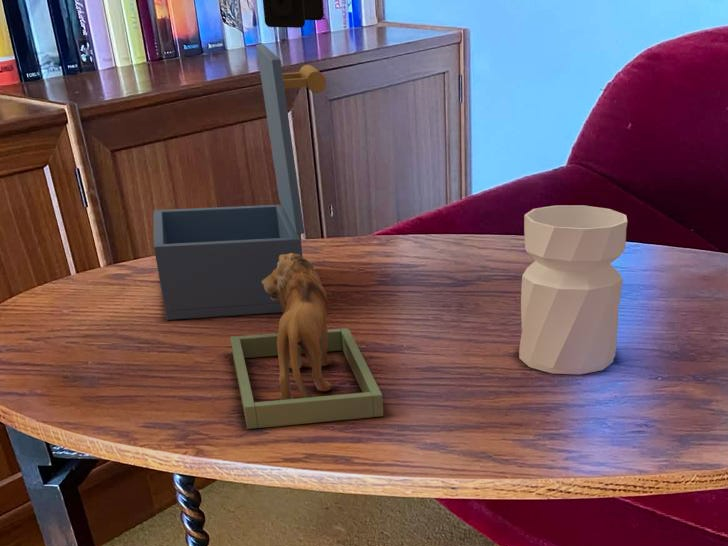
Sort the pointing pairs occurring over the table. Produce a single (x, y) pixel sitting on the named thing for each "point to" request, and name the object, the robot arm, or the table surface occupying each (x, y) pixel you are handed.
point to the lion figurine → (299, 321)
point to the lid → (284, 125)
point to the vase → (571, 288)
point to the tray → (312, 407)
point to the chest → (220, 258)
